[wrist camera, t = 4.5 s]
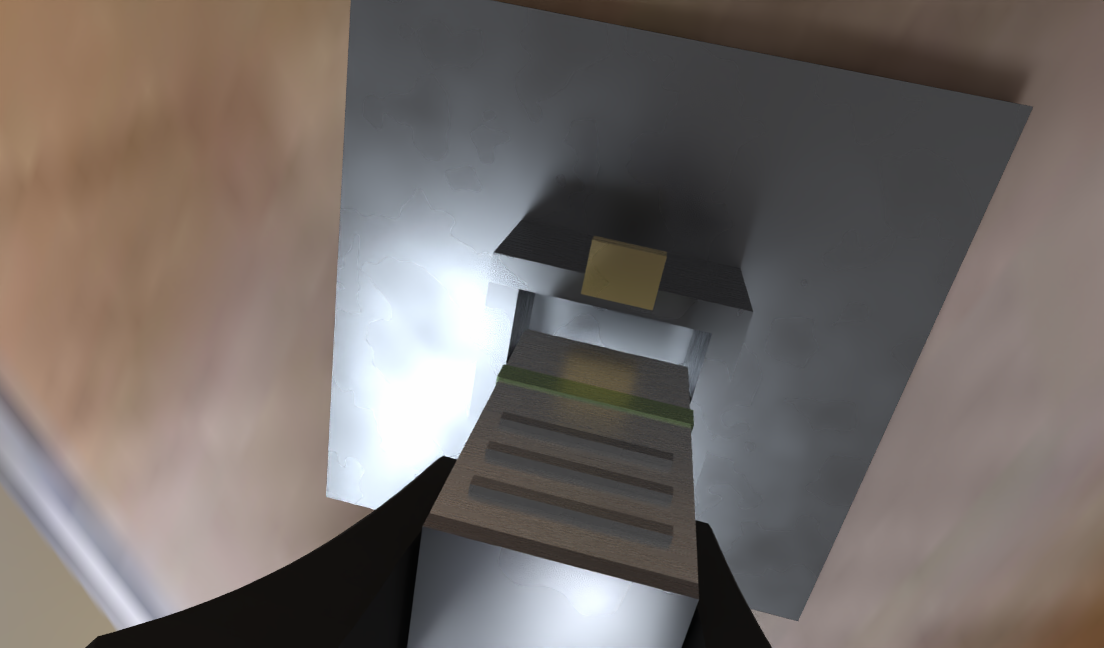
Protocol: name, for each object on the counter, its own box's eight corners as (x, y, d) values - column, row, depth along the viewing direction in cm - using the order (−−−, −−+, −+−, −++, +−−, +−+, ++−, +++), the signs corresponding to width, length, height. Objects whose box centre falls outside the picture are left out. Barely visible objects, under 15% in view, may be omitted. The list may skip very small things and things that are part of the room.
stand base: (793, 600, 25) (819, 721, 20) (338, 480, 26) (270, 569, 22) (1014, 103, 18) (1129, 123, 13) (367, -24, 19) (274, -45, 15)
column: (649, 502, 18) (635, 781, 11) (499, 463, 18) (395, 712, 11) (691, 362, 16) (705, 592, 9) (524, 322, 16) (420, 517, 10)
